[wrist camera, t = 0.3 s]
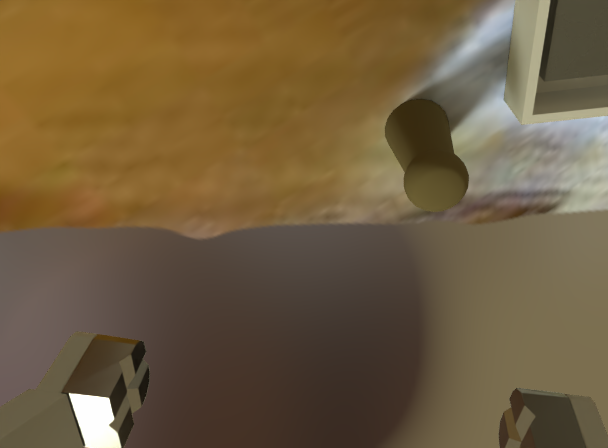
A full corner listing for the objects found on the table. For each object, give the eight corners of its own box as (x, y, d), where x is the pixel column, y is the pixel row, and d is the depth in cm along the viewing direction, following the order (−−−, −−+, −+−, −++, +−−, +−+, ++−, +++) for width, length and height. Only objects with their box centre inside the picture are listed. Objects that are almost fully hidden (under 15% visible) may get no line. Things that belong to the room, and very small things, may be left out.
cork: (374, 145, 52) (389, 212, 44) (401, 90, 49) (423, 150, 40) (429, 162, 53) (455, 231, 45) (459, 110, 50) (493, 173, 41)
